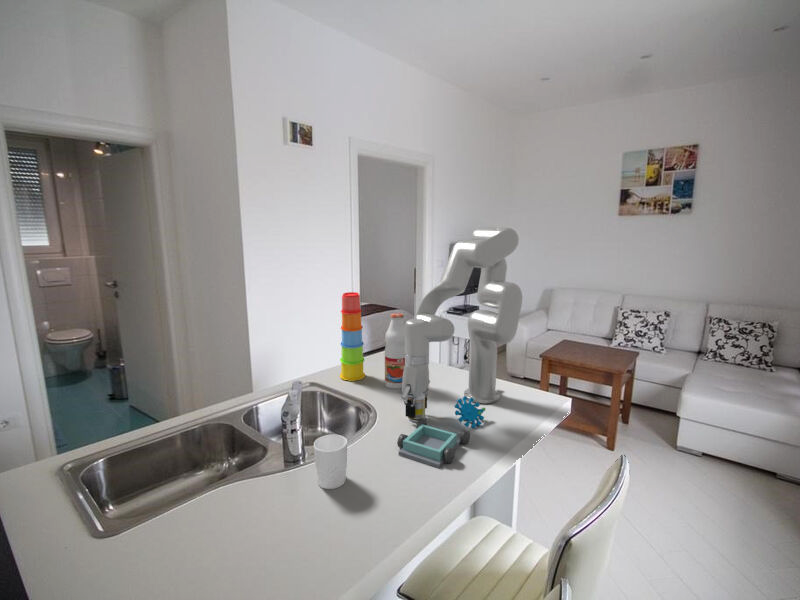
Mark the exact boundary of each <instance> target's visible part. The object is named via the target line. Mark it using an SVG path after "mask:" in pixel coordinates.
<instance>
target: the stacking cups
mask: <svg viewBox="0 0 800 600" xmlns="http://www.w3.org/2000/svg"><path fill="white" fill-rule="evenodd" d="M340 313H341V327H340V329H341V342H340V346H341V357H340V360H339V361H340V363H341V367H340V368H341V369H340V370H341V371H340V372H341V373H340V374H339V377H340V379H341V380H344V381H346V380H348V381H347V382H356V380H357V381H361V380H363V379H364V378H365V377H366V374H365V372H364V362H365V360H366V359H365V358H364V355H363V352H364V349H363V346H364V344H365V343H364V341H363V330H362V329H363V325H362V314H361V313H362V309H361V295H360V294H359V292H353V291H352V292H350V291H349V292H344V293H342V295H341V311H340Z"/></svg>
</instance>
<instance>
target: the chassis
mask: <svg viewBox="0 0 800 600" xmlns="http://www.w3.org/2000/svg"><path fill="white" fill-rule="evenodd" d="M427 424H428V421H427V419H426V418H425V419H422V418H420V419H419V420H418V422H416V429H415V430H414V431H412V432H411V434H409V435H407V434H404V433H401V434H400V435H399V436H398V438H397V443H396V444H397V447H398V448H400V449H399V450H398V456H400V457H404V458H406V459H409V460H413V461H416V462H420V463H422V464H425V465H429V466H431V467H434V468H437V469H440V467H442V466H443V464H444V463H448V464H452V463H453V460H454V459H455V451H456V449H457V448H458V447H459V445H461V444H464V445H468V443H469V442H470V436H471V432H470V431H469V430H465V429H463V430H461V432H459V431H455V430H453V429H447V428H445V427H440V426H438V425H433V424H431V423H430V424H428V425H427Z"/></svg>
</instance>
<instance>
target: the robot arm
mask: <svg viewBox="0 0 800 600" xmlns="http://www.w3.org/2000/svg"><path fill="white" fill-rule="evenodd" d="M519 240H520V239H519V235H518V233H517V231H516V230H514V229H513V228H511V227H502V226H500V227H493V226H492V227H491V226H490V227H489V226H485V227H484V226H482V227H478V228H476V229H474V230H473V232H472V233H471V239H463V240H459V241H457V242H456V243H455V244H454V245H453V247H452V249H451V252H450V255H449V258H448V260H447V262H446V265H445V268H444V271H443V273H442V276H441V278H440V280H439V282H438V283H437V284H436V285H434V286H433V288H431V289H430V291H429V292H427V294H426V295H425V296H424V297H423V299H422V300H421V302H420V304H419V306H418V308H417V311H416V314H415V316H414V318H411V319H408V320H406V321H405V322H404V325H405V366H404V371H403V381H402V389H401V393H402V397H401V400H402V401H403V403H404V406H405V417H407V418H408V417H410V418H415V406H414V403H415V399H416V397H418V396H419V395H420V394H422V393H424V394H425V410H426V409H427V408H428V396H429V392H428V390H429V386H430V382H431V380H430V370H429V365H430V343H431V342H432V343H442V342H447V341H448V340H450V339H451V338H452V337H453V336H454V333H455V325H454V323H453V322H452V321H451V320H450V319H448V318H446V317H442V316H439V315H436V314H437V311H438V309H439V307H440V306H441V305H442V304H443V303H444V302H445V301H447V300H449V299H451V298H453V297H457V296H459V295H461V294H463V293H465V291H466V289H467V286H468V283H469V280H470V278H471V275H472V273H473V270H474V268H478V269H480V275H479V276H480V277H479V281H478V282H479V283H478V288H477V295H476V298H477V302H478V303H479V304H480V305H482V306H484V307H488V308H491V309H496V310H498V311H497V312H495V311H491V310H486V309H477V310H474V311H473V312H471V313H470V314H469V316H468V319H467V331H468V339H469V358H468V359H469V362H468V364H469V365H468V388H466V389H465V390H464V391H463V397H464V396H465V397H467V398H468V399H467V401H469V399H470V398H473V399H474V401H473V402H472V403H477V402H478V403H479V404H486V405H487V404H493V403H496V402H498V401H499V400H500V393H499V392H498V391H497V390H496V387H497V385H496V384H497V365H498V364H497V363H498V361H497V360H498V359H497V358H498V347H497V343H499V344H509V343H510V342H512V341H513V340H514V338H515V336H516V334H517V331H518V327H519V321H520V317H521V316H520V315H521V310H522V305H523V292H522V289H521V288H520V286H519V285H518V284H516V283H514V282H511V281H506V278H507V277H506V276H507V269H508V267H507V261H506V258H507V257H508V256H510V255H511V254H512V253H514V252H515V250H516V249H517V247H518V245H519ZM410 393H411V394H413V396H411V395H410ZM409 397H411V398H412V402H411V401H410V400H409Z"/></svg>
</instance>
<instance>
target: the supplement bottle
mask: <svg viewBox="0 0 800 600" xmlns="http://www.w3.org/2000/svg"><path fill="white" fill-rule="evenodd" d="M410 395H411V396H413V394H411V393H410ZM409 400H410V401H411V402H412V398H411V397H409ZM414 406H415V418H410V417H407V418H408V420H409V421H411V422H414V423H417V422H418V420H419V419H420V418H422V419H425V420H426V409H425V394H424V393H422V394H420V395H419V396H418V397H416V399H415V403H414Z"/></svg>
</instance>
